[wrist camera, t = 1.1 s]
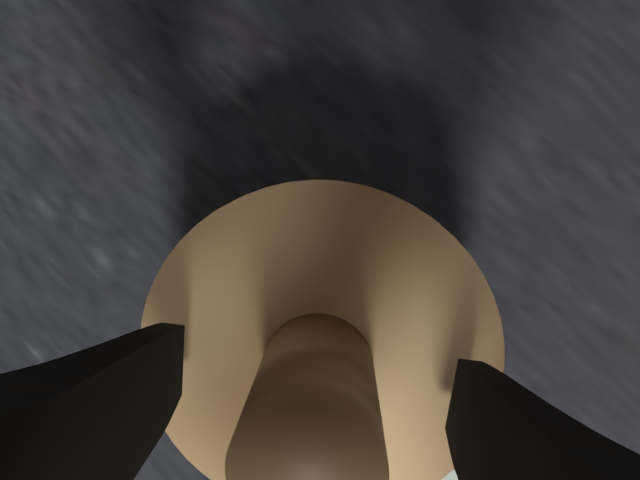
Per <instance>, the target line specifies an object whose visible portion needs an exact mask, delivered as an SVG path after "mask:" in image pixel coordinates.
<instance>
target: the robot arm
mask: <svg viewBox="0 0 640 480" xmlns="http://www.w3.org/2000/svg"><path fill="white" fill-rule="evenodd" d="M184 334H185V325H179V324H171V323H163V322H162V323H157V324H154V325H150V326H147V327H144V328H141V329H139V330H136V331H133V332H131V333H128V334H125V335H123V336H120V337H117V338H115V339H112V340H109V341H107V342H104V343H101V344H99V345H96V346H93V347H90V348H87V349H84V350H81V351H78V352H75V353H73V354H70V355H67V356H64V357H61V358H58V359H55V360H51V361H48V362H45V363H41V364H38V365H34V366H30V367H26V368H22V369H19V370H15V371H11V372H7V373H2V374H0V480H133V479H134V478H135V476H136V475H137V473H138V472H139V470H140V469H141V467H142V465H143V464H144V462H145V461H146V459H147V458H148V456H149V455H150V453H151V452H152V450H153V449H154V447H155V445H156V444H157V442H158V441H159V439H160V438H161V436H162V434H163V433H164V431H165V430H166V428H167V426H168V424H169V422H170V420H171V418H172V416H173V414H174V412H175V409H176V407H177V405H178V403H179V400H180V398H181V396H182V383H183V358H184ZM445 431H446V436H447V440H448V445H449V450H450V454H451V458H452V462H453V466H454V469H455V472H456V475H457V477H458V480H640V455H639V454H637V453H635V452H633V451H631V450H630V449H628V448H626V447H624V446H622V445H620V444H618V443H616V442H614V441H612V440H610V439H608V438H606V437H604V436H603V435H601V434H599V433H597V432H595V431H594V430H592V429H590V428H588V427H587V426H585V425H583V424H582V423H580V422H578V421H577V420H575V419H573V418H572V417H570V416H568V415H567V414H565V413H563V412H562V411H560V410H559V409H557V408H555V407H554V406H552V405H551V404H549V403H548V402H546V401H545V400H543V399H541V398H540V397H538V396H537V395H535V394H534V393H532V392H531V391H529V390H528V389H526V388H525V387H523V386H522V385H520V384H519V383H517V382H516V381H514V380H513V379H511V378H510V377H508V376H507V375H505V374H504V373H502V372H501V371H499V370H497V369H496V368H494V367H492V366H491V365H489V364H487V363H485V362H483V361H476V360H468V359H460V358H458V363H457V368H456V373H455V378H454V383H453V389H452V394H451V399H450V404H449V409H448V414H447V420H446V425H445Z"/></svg>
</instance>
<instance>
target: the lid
mask: <svg viewBox="0 0 640 480" xmlns="http://www.w3.org/2000/svg"><path fill="white" fill-rule="evenodd" d="M162 322H163V323H171V324H179V325H185V334H184V358H183V383H182V396H181V398H180V400H179V403H178V405H177V407H176V409H175V412H174V414H173V416H172V418H171V420H170V422H169V424H168V426H167V428H166V430H165V431H166V433H167V434H168V436H169V437H170V439H171V440H172V442H173V443H174V444H175V446H176V447H177V448H178V449H179V450H180V452H181V453H182V454H183V455H184V456H185V457H186V459H187V460H188V461H190V462H191V463H192V464H193V465H194V466H195V467H196V468H197V469H198V470H199V471H200V472H201V473H203V474H204V475H205V476H207V477H208V478H209V479H211V480H441V479H443V478H444V477H445V476H446V475H448V474H449V473H450V472H451V471H452V470H453V469H454V466H453V462H452V458H451V454H450V450H449V445H448V440H447V436H446V431H445V425H446V420H447V414H448V409H449V404H450V399H451V394H452V389H453V383H454V378H455V373H456V368H457V363H458V358H460V359H468V360H476V361H483V362H485V363H487V364H489V365H491V366H492V367H494V368H496V369H497V370H499V371H501V372H502V373H503V371H504V336H503V330H502V323H501V318H500V315H499V311H498V308H497V305H496V301H495V298H494V296H493V294H492V291H491V289H490V287H489V285H488V283H487V281H486V279H485V276H484V275H483V273H482V272H481V270H480V269H479V267H478V266H477V264H476V263H475V261H474V259H473V258H472V256H471V255H470V254H469V253H468V252H467V250H466V249H465V248H464V247H463V246H462V245H461V244H460V242H459V241H458V240H457V239H456V238H455V237H454V236H453V235H452V234H451V233H450V232H448V231H447V230H446V229H445V228H444V227H443V226H441V225H440V224H439V223H438V222H437V221H436V220H434V219H433V218H432V217H430V216H429V215H427V214H426V213H424V212H423V211H421V210H420V209H418V208H417V207H415V206H414V205H412V204H411V203H409V202H407V201H405V200H403V199H401V198H399V197H396V196H394V195H392V194H390V193H388V192H385V191H382V190H379V189H376V188H373V187H370V186H367V185H363V184H358V183H352V182H346V181H341V180H322V179H312V180H300V181H290V182H286V183H281V184H277V185H272V186H268V187H265V188H262V189H260V190H257V191H254V192H252V193H249V194H246V195H244V196H242V197H240V198H238V199H236V200H234V201H232V202H230V203H228V204H226V205H225V206H223V207H221V208H219V209H217V210H216V211H214V212H213V213H212V214H210V215H209V216H207V217H206V218H205V219H203V220H202V221H201V222H199V223H198V224H197V225H196V226H195V227H193V228H192V229H191V230H190V231H189V232H188V233H187V234H186V235H185V236H184V237H183V238H182V239H181V240H180V241H179V243H178V244H177V245H176V246H175V248H174V249H173V250H172V252H171V253H170V254H169V255H168V257H167V258H166V260H165V261H164V263H163V265H162V267H161V268H160V270H159V272H158V274H157V275H156V277H155V279H154V282H153V284H152V287H151V289H150V292H149V294H148V297H147V300H146V304H145V308H144V312H143V317H142V321H141V328H144V327H147V326H150V325H154V324H157V323H162Z"/></svg>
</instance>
